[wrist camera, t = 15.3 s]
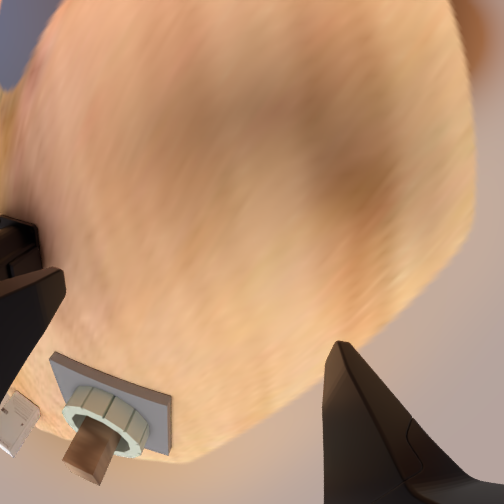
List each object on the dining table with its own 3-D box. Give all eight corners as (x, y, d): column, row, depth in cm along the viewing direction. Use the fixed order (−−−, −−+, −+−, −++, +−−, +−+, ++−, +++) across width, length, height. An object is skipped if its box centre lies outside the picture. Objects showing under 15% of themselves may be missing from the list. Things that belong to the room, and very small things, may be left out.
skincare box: (39, 406, 39) (10, 452, 28) (41, 416, 41) (15, 459, 30) (14, 388, 39) (-16, 431, 28) (18, 399, 41) (-10, 439, 30)
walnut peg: (99, 416, 33) (71, 472, 24) (94, 400, 31) (61, 460, 22) (125, 427, 33) (99, 485, 24) (122, 412, 31) (92, 475, 22)
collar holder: (76, 411, 36) (63, 434, 32) (54, 351, 31) (34, 377, 26) (171, 447, 36) (162, 474, 32) (171, 396, 30) (157, 430, 26)
